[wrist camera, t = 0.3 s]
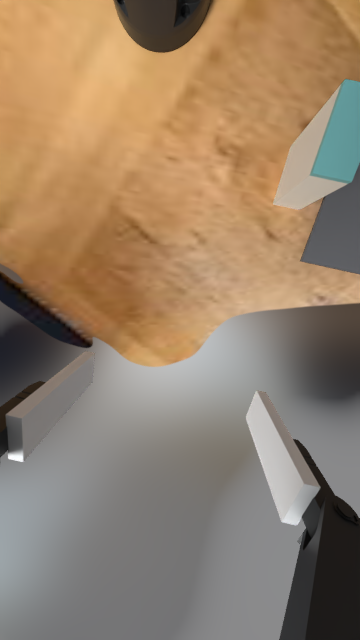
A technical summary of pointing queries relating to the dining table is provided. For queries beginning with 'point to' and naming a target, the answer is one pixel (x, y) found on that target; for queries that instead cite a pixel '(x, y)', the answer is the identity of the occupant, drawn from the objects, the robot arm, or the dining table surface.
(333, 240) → the rubber mat
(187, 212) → the dining table surface
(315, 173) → the grey teal block
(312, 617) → the robot arm
